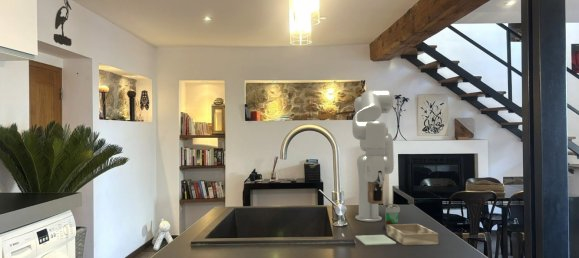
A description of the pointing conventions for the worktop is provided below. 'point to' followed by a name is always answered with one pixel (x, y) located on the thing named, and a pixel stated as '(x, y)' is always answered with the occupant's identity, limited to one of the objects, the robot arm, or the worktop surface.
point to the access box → (412, 234)
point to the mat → (375, 239)
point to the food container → (391, 214)
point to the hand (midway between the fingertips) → (375, 199)
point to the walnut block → (370, 194)
